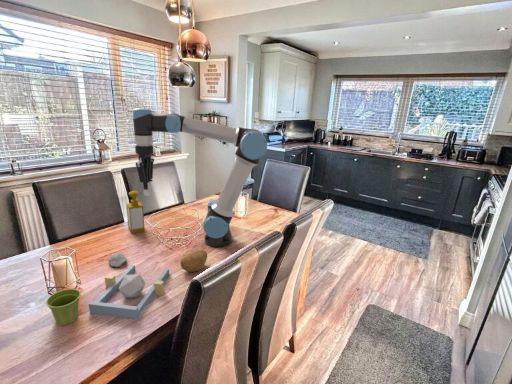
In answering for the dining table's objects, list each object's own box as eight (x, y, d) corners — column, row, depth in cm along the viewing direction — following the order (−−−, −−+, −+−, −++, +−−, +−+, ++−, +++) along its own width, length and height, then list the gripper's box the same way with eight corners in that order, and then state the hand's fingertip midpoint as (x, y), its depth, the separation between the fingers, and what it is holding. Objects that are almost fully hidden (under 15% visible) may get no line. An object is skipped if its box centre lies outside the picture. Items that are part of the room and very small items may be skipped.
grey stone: (131, 259, 131) (130, 250, 129) (122, 269, 123) (121, 259, 122) (113, 258, 131) (112, 249, 130) (103, 267, 123) (102, 257, 122)
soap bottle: (154, 229, 163) (152, 190, 156) (131, 233, 156) (127, 193, 149) (151, 224, 169) (148, 187, 162) (128, 229, 162) (125, 190, 155)
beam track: (175, 274, 121) (175, 264, 119) (145, 320, 95) (144, 308, 93) (125, 269, 123) (124, 259, 121) (81, 312, 97) (79, 300, 95)
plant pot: (71, 306, 99) (68, 285, 97) (90, 314, 96) (87, 293, 94) (43, 323, 91) (39, 301, 89) (63, 333, 88) (58, 310, 85)
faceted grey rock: (133, 307, 102) (148, 282, 103) (110, 295, 100) (126, 270, 102) (137, 299, 110) (151, 276, 112) (117, 289, 109) (131, 266, 110)
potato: (213, 265, 129) (213, 250, 127) (191, 280, 118) (191, 263, 116) (197, 258, 134) (197, 244, 132) (175, 272, 123) (174, 256, 120)
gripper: (143, 142, 130) (146, 190, 137) (128, 146, 117) (132, 198, 124) (158, 143, 129) (161, 192, 136) (145, 147, 117) (148, 200, 124)
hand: (147, 195), depth 130 cm, fingers closed
